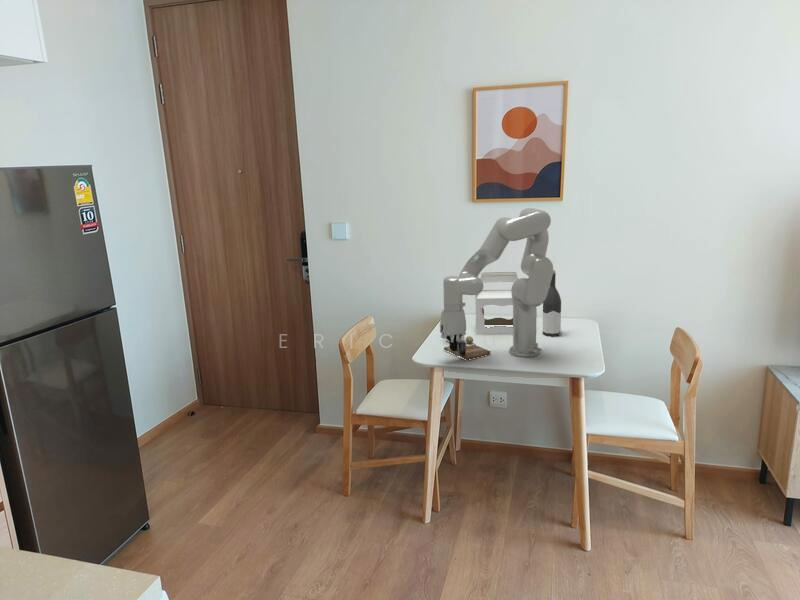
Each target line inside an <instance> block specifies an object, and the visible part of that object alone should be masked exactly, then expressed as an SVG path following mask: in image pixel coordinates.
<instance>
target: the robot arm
mask: <svg viewBox="0 0 800 600" xmlns="http://www.w3.org/2000/svg"><path fill="white" fill-rule="evenodd" d="M551 222H552V218H551V216H550V214H549V213H548V212H547V211H545V210H542V209H537V208H532V207H526V208H524V209H522V210H521V211H520V213H519V215H518V217H516V218H512V217H508V216H506V217H505V216H504V217H499V219H497V220H496V221H495V223H494V225H493V226H492V228H491V230H490V231H489V233H488V235H487V236H486V238H485V239H484V241H483V243H482V245H481V246H480V248H479V249H478V250H477V251H476V252H475V253H474V254H473V255H472V256H471V257H470V258H469V259H468V260H467V261H466V262H465V264H464V266H463V268H462V269H461V271H460V273H459V275H458V276H457V275H450V276H449V275H448V276H445V277H444V279H443V310H442V309H441V314H440V319H439V320H440V321H439V332H440V334H441V335H440V338H442V339H443V340H444V339H445V340H446V339H448V340H449V342H448V343H449V344H448V345H449V346H450V350H452V351H453V352H454V351H457V348H458V341H459V339H460V338H461V336H464V337H465V336H466V334H467V333H466V332H467V320H466V319H467V317H466V313H465V310H464V307H465V306H466V303H465V302H463V295H465V296H467V295H468V296H475V295H477V294H479V293H480V292H481V291H482V290H484V282H482V280H481V277H479V276H480V275H481V274H480V273H481V272H482V271H483V270H484V268H485V267H487V266H489V265H490V264H493V263H494V262H497V261H498V260H499V259H500V257H501V256H502V254H503V253H504V251H505V249H506V248H507V246H508V244H509V243H510V242H516V241H517V242H518V241H520V240H524V239H526V243H525V246H524V247H525V248H524V251H523V255H522V259H521V262H520V270H521V272H522V273H523V274H525V275H526V276H528V278H527V277H521V278H518V280H516V281H515V282H512V283H513V284H512V286H511V289H510V290H511V294H512V301H513V305H512V318H513V334H512V346H511V347H509V348H508V352H509V353H510V354H511V355H513V356H516V357H520V358H523V357H525V358H529V357H535V356H537V355H540V353H541V352H542V351H543V349H542V348H541V347H539V344H538V343H537V315H538V312H537V307H540V306H541V305H543V302H544V301H545V299H546V296H547V293H548V290H549V287H550V283H551V279H552V275H553V270H554V264H553V262H552V260H550V258H549V257H546V255H547V251H548V245H549V232H548V229H549V227H550V226H551ZM453 335H454V337H453Z"/></svg>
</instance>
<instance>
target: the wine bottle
mask: <svg viewBox="0 0 800 600" xmlns="http://www.w3.org/2000/svg"><path fill="white" fill-rule="evenodd" d="M561 324H562V299H561V295H560V293H559V291H558V289H557V288H556V269H553V275H552V279H551V283H550V286H549V290H548V293H547V296H546V299H545V301H544V302H543V303H542V335H543V336H545V337H549V336H551V337H550V338H552V337H553V338H554V337H560V335H561V329H562V327H561V326H562V325H561Z"/></svg>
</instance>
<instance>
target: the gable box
mask: <svg viewBox="0 0 800 600" xmlns="http://www.w3.org/2000/svg"><path fill="white" fill-rule="evenodd" d="M480 279H481V280H482V282H483V284H484V283H514V282H515V281H516V280H518V279H519V278H518V273H517V272H516V271H505V272H504V271H503V272H502V271H501V272H500V271H499V272H498V271H497V272H482V273H481V274H480ZM474 297H475V332H476V333H477V334H476V333H475V334H476V335H513V327H506V326H494V327H490V328H487V327H485V326H484V325H513V317H512V318H509V319H508V318H504V317H493V318H489V319H487V318H485V316H484V315H485V310H484V307H485V306H490V305H491V306H492V305H493V306H498V307H499V306H500V307H505V306H513V301H512V294H511V289H485V290H484V289H483V290H482V291H481V292H480V293H479V294H477V295H474Z"/></svg>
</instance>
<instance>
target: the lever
mask: <svg viewBox="0 0 800 600" xmlns="http://www.w3.org/2000/svg"><path fill="white" fill-rule="evenodd" d="M457 349H458V354H459V355H465V354H466V340H465V339H464V340H463V341H462V337H461V338H460V339H459V341H458V348H457Z"/></svg>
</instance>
